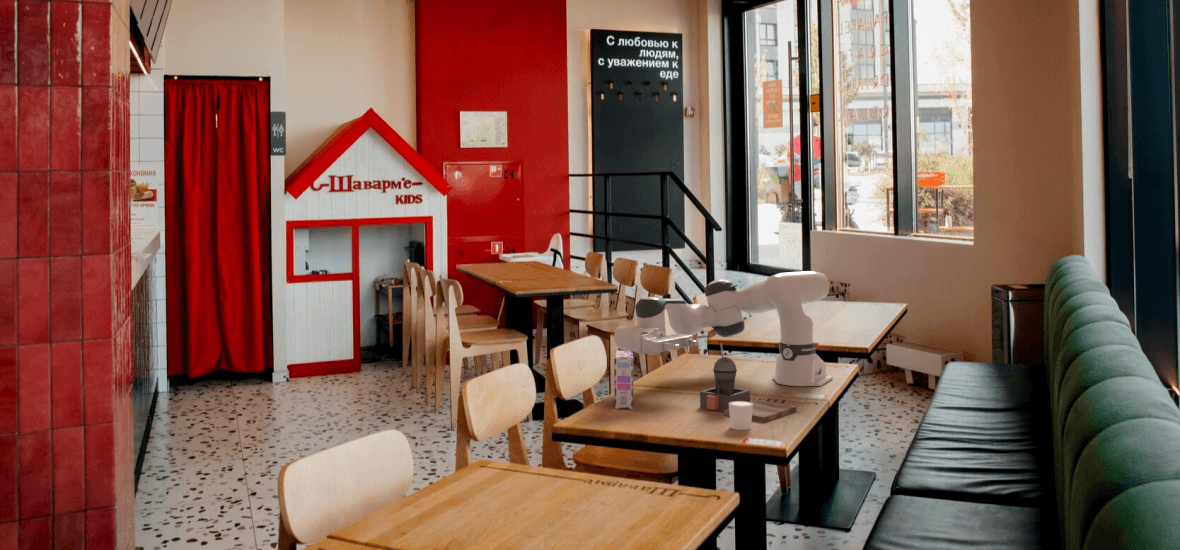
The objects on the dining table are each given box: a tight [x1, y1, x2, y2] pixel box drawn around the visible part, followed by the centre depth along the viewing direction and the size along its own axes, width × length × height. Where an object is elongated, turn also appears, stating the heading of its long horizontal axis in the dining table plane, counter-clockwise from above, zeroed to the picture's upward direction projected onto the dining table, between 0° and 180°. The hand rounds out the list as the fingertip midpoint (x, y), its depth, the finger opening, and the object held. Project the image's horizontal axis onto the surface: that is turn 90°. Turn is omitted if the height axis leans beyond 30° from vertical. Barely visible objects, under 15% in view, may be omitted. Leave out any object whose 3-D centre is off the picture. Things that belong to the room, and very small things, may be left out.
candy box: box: [613, 350, 634, 410], centre depth 287 cm, size 14×6×16 cm, turn 176°
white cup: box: [729, 401, 753, 431], centre depth 257 cm, size 7×7×7 cm
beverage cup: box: [712, 342, 738, 395], centre depth 282 cm, size 7×7×20 cm
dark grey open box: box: [699, 386, 751, 412], centre depth 282 cm, size 13×11×5 cm
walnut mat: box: [723, 399, 798, 423], centre depth 274 cm, size 18×14×2 cm
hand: (687, 345), depth 291 cm, fingers open, 8 cm apart
